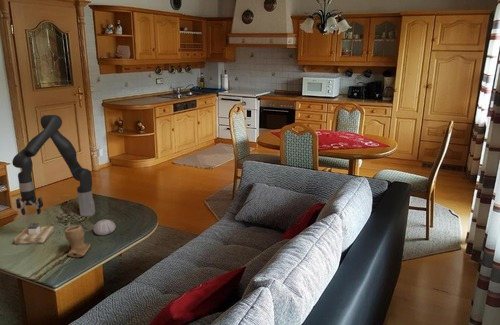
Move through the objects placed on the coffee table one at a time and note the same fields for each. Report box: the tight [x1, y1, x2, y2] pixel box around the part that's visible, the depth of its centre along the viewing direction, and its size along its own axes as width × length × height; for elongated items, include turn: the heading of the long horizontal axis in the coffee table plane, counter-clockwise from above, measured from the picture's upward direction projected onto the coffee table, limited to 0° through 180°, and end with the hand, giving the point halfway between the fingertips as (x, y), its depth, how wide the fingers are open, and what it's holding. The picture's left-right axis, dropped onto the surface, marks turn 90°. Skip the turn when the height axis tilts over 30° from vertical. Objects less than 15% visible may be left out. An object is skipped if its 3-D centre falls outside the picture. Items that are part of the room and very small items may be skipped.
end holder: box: [14, 225, 55, 246], centre depth 248 cm, size 16×16×4 cm
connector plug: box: [27, 222, 41, 235], centre depth 247 cm, size 5×5×8 cm
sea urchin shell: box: [93, 218, 116, 236], centre depth 256 cm, size 13×14×8 cm
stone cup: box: [64, 224, 91, 259], centre depth 229 cm, size 15×12×15 cm
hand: (31, 214), depth 244 cm, fingers open, 8 cm apart
